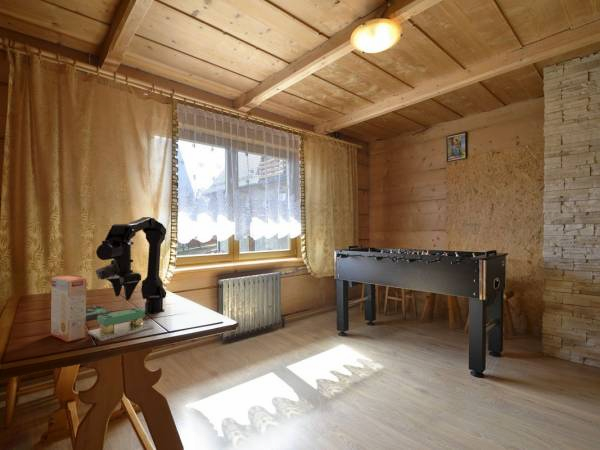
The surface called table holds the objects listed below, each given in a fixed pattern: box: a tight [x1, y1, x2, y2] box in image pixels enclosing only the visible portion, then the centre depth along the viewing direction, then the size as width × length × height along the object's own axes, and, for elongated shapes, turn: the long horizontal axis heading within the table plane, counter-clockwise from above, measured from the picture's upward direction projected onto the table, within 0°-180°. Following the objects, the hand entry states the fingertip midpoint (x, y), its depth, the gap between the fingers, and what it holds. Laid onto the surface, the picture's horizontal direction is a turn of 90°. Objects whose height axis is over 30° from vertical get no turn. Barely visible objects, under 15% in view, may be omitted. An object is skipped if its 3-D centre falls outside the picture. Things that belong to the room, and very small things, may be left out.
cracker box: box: [50, 275, 87, 343], centre depth 108 cm, size 14×6×21 cm, turn 57°
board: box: [96, 307, 146, 326], centre depth 114 cm, size 14×6×2 cm, turn 142°
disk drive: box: [86, 305, 111, 322], centre depth 134 cm, size 10×3×15 cm
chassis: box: [88, 317, 155, 342], centre depth 114 cm, size 18×12×6 cm, turn 141°
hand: (122, 298), depth 116 cm, fingers open, 9 cm apart
